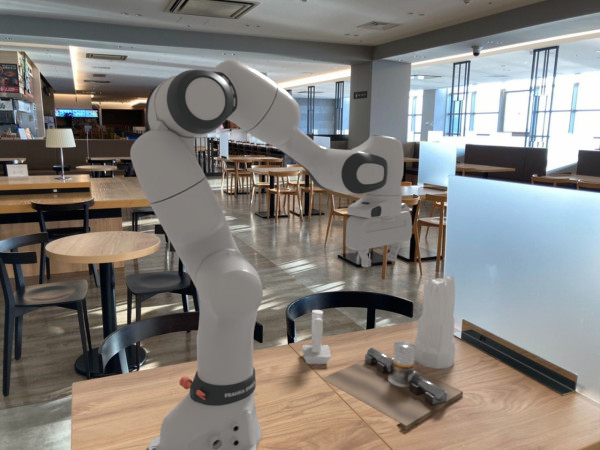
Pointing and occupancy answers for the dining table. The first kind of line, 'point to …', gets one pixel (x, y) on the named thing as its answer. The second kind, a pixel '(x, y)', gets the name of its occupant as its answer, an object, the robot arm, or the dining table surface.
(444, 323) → the decorative vase
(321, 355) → the white peg on base
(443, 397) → the near steel shaft
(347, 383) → the walnut base board
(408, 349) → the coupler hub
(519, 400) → the dining table surface
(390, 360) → the far steel shaft
